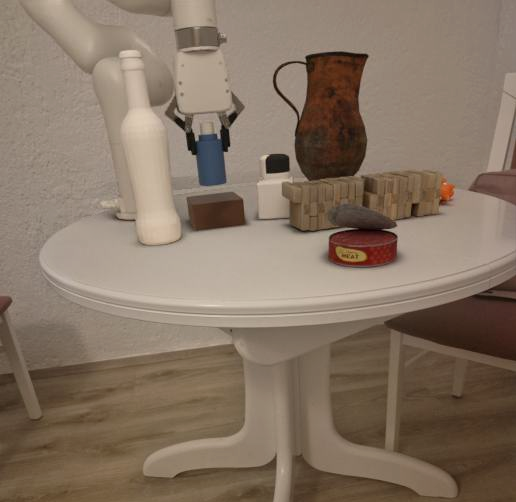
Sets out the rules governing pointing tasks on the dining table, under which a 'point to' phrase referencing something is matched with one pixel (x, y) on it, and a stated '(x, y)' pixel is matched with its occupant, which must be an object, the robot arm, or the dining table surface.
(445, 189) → the orange toy bird
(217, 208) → the walnut block
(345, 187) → the block tower
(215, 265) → the dining table surface
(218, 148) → the blue bottle
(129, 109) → the bottle
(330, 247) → the canned food
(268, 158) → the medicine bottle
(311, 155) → the pitcher
